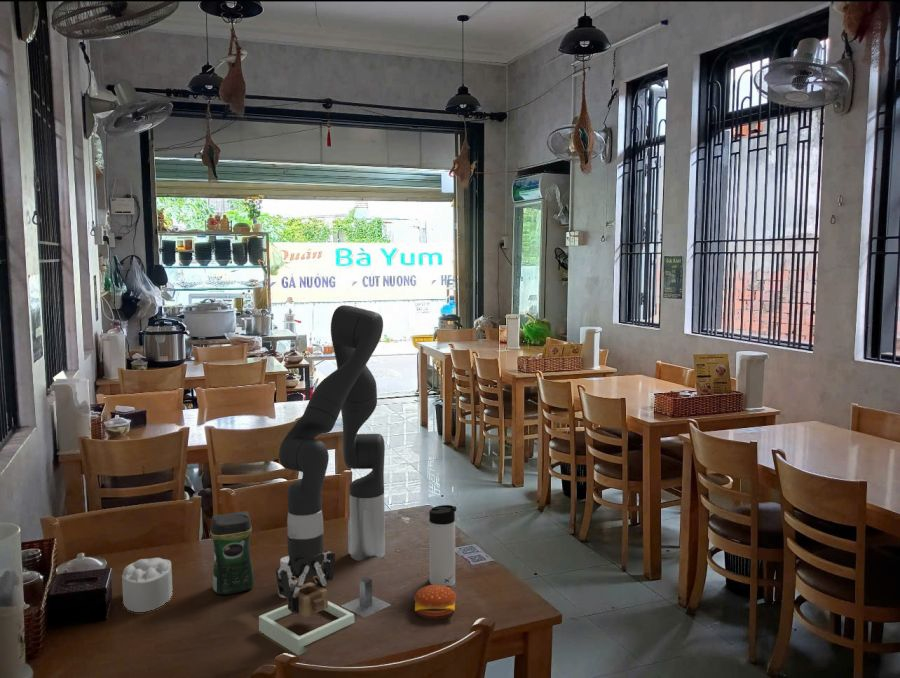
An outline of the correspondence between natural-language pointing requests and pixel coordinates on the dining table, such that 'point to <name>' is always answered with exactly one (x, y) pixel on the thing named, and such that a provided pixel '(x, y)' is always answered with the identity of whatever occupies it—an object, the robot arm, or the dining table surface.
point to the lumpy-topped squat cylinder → (147, 584)
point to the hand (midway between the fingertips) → (307, 606)
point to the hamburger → (435, 602)
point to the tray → (298, 642)
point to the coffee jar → (232, 553)
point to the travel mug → (442, 545)
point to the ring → (312, 599)
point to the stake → (365, 600)
